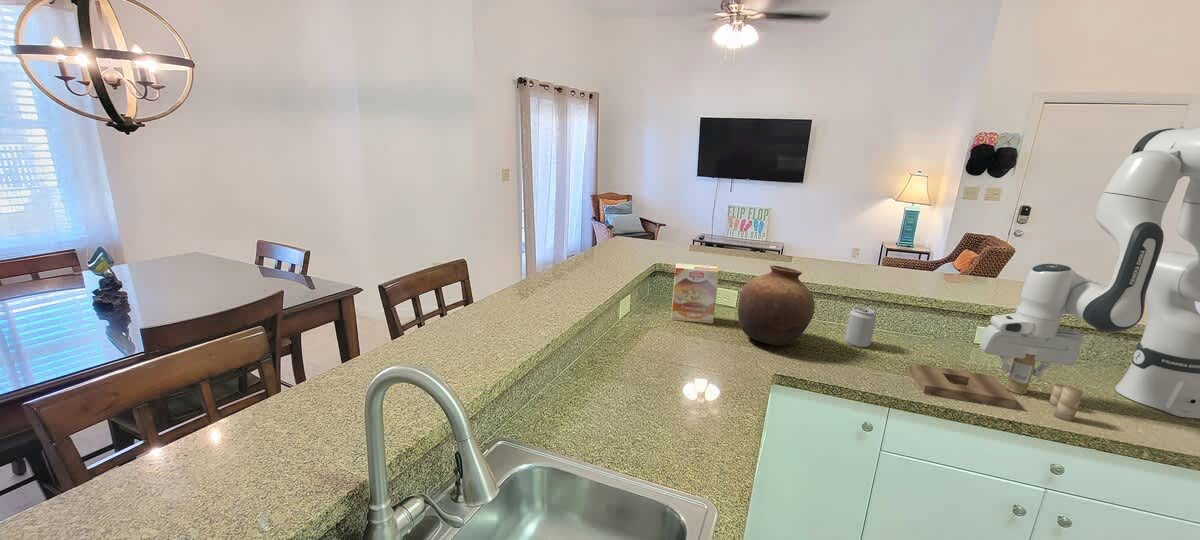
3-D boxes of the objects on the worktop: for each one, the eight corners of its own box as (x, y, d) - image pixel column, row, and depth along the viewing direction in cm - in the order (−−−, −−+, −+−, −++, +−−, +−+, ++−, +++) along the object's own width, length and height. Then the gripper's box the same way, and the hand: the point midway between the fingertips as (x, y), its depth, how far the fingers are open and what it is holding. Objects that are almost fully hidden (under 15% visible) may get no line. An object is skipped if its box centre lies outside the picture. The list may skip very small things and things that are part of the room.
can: (871, 343, 159) (877, 308, 156) (869, 350, 153) (876, 315, 150) (845, 337, 163) (852, 303, 160) (843, 344, 157) (849, 309, 153)
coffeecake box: (670, 320, 172) (675, 267, 167) (671, 313, 179) (675, 262, 174) (713, 324, 170) (719, 270, 165) (712, 317, 177) (717, 265, 172)
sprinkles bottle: (1029, 392, 130) (1043, 346, 126) (1023, 396, 128) (1037, 349, 124) (1008, 384, 134) (1021, 340, 130) (1002, 388, 131) (1015, 343, 128)
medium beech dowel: (1068, 415, 119) (1077, 388, 117) (1076, 422, 116) (1086, 394, 114) (1051, 412, 120) (1060, 385, 118) (1058, 419, 117) (1068, 391, 115)
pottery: (729, 347, 151) (739, 270, 145) (739, 323, 172) (747, 255, 165) (808, 362, 143) (821, 281, 136) (808, 334, 164) (819, 263, 157)
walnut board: (990, 383, 134) (992, 375, 133) (1014, 409, 121) (1017, 400, 120) (908, 370, 140) (910, 362, 139) (923, 393, 127) (925, 385, 126)
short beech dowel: (1062, 403, 125) (1067, 385, 124) (1069, 409, 122) (1075, 391, 121) (1046, 400, 126) (1051, 383, 125) (1053, 406, 123) (1058, 389, 122)
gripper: (1077, 327, 125) (1061, 375, 129) (984, 315, 131) (972, 361, 135) (1092, 335, 120) (1075, 386, 123) (994, 323, 126) (981, 371, 129)
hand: (1020, 373), depth 129 cm, fingers open, 5 cm apart
